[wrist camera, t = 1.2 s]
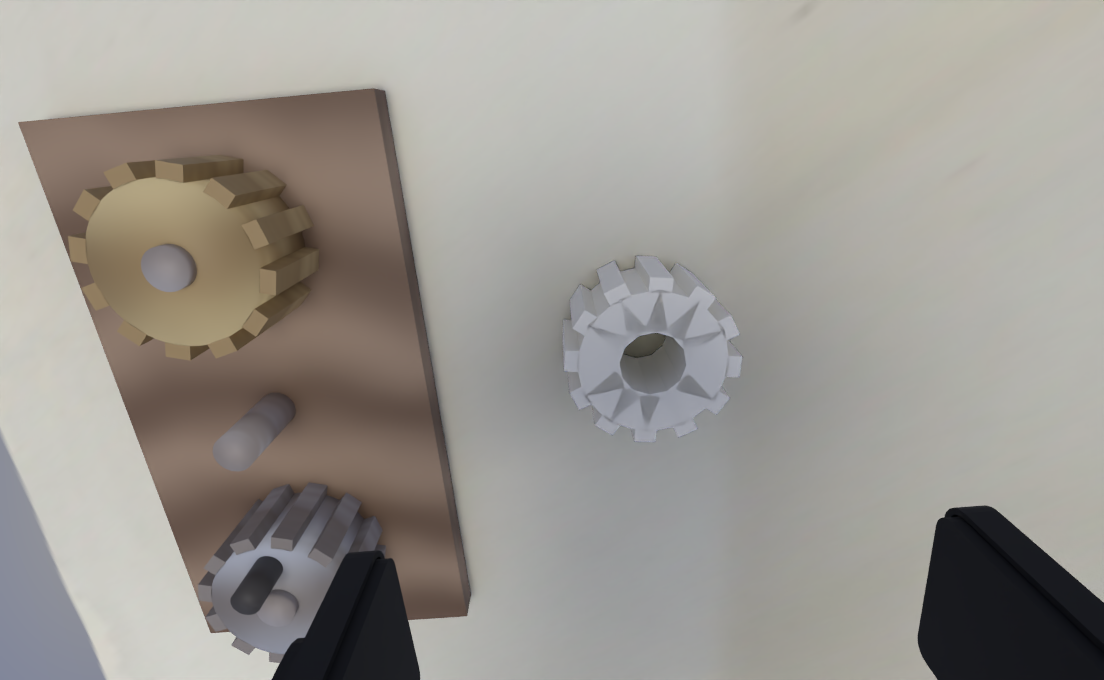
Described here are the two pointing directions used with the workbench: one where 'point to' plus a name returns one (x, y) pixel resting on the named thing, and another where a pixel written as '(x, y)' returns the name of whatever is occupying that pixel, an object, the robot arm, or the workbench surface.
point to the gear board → (265, 345)
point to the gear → (661, 378)
